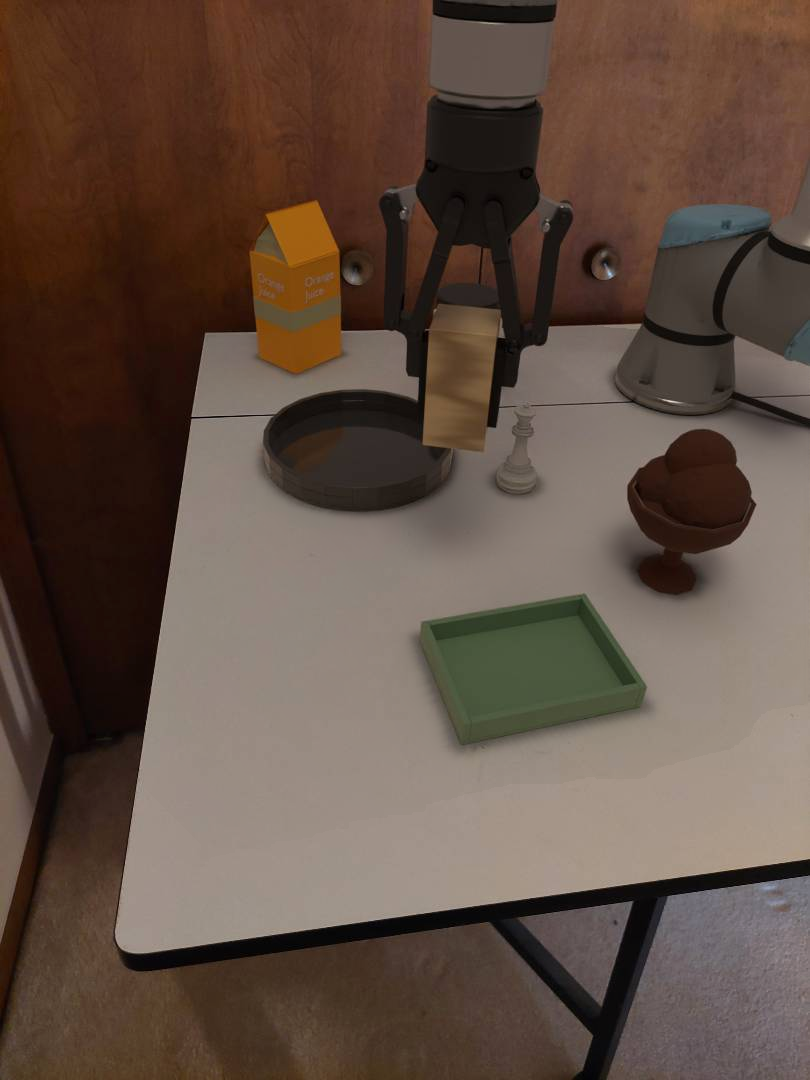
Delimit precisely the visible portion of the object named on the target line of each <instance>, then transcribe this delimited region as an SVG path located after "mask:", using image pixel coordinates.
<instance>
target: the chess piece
mask: <svg viewBox="0 0 810 1080" xmlns="http://www.w3.org/2000/svg"><path fill="white" fill-rule="evenodd" d="M513 412H514V414H515V416H516V417H517V421H516V423H515V424H513V425H512V427H511V434H512V435H513V436H514V437H515V439H514V445H513V447H512V451H511V453H510V455H508V456H506V458H505V461H503V462H502V463H500V465H498V467H497V471H496V475H495V483H496V485H497V487H498V488H500V489H501V490H502V491H504V492H506V493H510V494H515V495H520V494H521V495H522V494H527V493H529V492H532V491H533V490H534V489H535V487H536V483H537V473H538V472H537V470H536V468H535V467H534V466H533V465H532V459H531V458H530V457H529V454H528V439H530V438H531V437H533V436H534V434H535V428H534V427H533V426H532V423H531V421H532V420H533V419H534V418H535V417H536V416H537V414H538V410H537V408H535V407H534V406H531V405H530V403H529V402H528V401H525V402H524V403H522V404H520V405H517V406H515V407H514V410H513Z"/></svg>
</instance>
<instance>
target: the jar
mask: <svg viewBox="0 0 810 1080" xmlns="http://www.w3.org/2000/svg"><path fill="white" fill-rule="evenodd" d="M438 304H447V305H457V306H467V307H477V308H487V309H497V310H500V303H499V297H498V290H497V288H494V287H491V286H489V285H486V284H482V283H476V282H454V283H449V284H447V285H443V286H442V287H440V288H438V291H437V294H436V308H434V309H433V313H432V315H433V316H432V318H433V317H434V314H435V311H436V309H437V306H438ZM502 329H503V323H502V317H501V320H500V329H499V337H500V338H502V331H503V330H502Z"/></svg>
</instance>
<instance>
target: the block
mask: <svg viewBox="0 0 810 1080" xmlns="http://www.w3.org/2000/svg"><path fill="white" fill-rule="evenodd" d="M436 306H437V305H436ZM435 309H436V308H435ZM501 318H502V317H501V310H497V309H487V308H477V307H467V306H457V305H447V304H438V306H437V309H436V311H435V314H434V317H433V316H432V320H431V322H430V325H429V328H428V330H429V340H428V358H427V375H426V393H425V410H424V428H423V445H428V446H436V447H444V448H453V450H462V451H470V452H471V451H472V452H478V453H484V452H485V447H486V440H487V435H488V429H489V427H487V422H488V413H489V404H490V395H491V386H492V378H493V369H494V360H495V351H496V346H497V341H498V337H499V329H500V320H501Z"/></svg>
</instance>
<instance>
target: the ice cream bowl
mask: <svg viewBox="0 0 810 1080" xmlns="http://www.w3.org/2000/svg"><path fill="white" fill-rule="evenodd" d="M737 463H738V457H737V451H736V449H735V447H734V445H733V443H732V441H731V440H729V439H728V438H727V437H726V436H725V435H723V434H722V433H719V432H718V431H715V430H713V429H710V428H695V429H691V430H688V431H685V432H684V433H681V434H680V435H679V436H678V437H677V438H676V439H675V440H674V441H673V442H671V443H670V444H669V446H668V447H667V449H666V451H665V453H664V454H663V455H659V456H656V457H654V458H651V459H650V460H649V461H648V462H647V463H646V464H645V465H644V466H642V467H639V468H637V470H636V472H635V473H634V475H633V476H632V477H631V479H630V481H629V482H628V484H627V486H626V499H627V503H628V506H629V510H630V512H631V514H632V517H633V518H634V520H635V522H636V523H637V526H638V528H639V530H640V531H641V532H642V534H644V536H646V538H647V539H649V540H651V541H652V542H654V543H656V544H658V545H659V546H661V547H663V548H664V550H663V553H656V554H651V555H648V556H645V557H644V558H643V559H642V561H641V563H639V566H638V567H637V569H636V572H637V574H638V576H639V577H640V580H641V582H642V583H643V584H645V585H646V586H648V587H649V588H651V589H653V590H654V591H656V592H657V593H665V594H670V595H676V596H677V595H681V594H684V593H687V592H690V591H692V590H693V588H694V586H695V584H696V582H697V575H696V573H695V571H694V569H693V567H692V566H691V564H690V563H688V562H686V561H684V560H683V556H684V555H683V554H688V555H699V554H702V553H705V552H708V551H712V550H715V549H719V548H723V547H725V546H729V545H732V544H733V543H734V542H735V541H737V539H739V538H740V537H741V536H742V534H743V533H744V531H745V530H746V529H747V527H748V526H749V523H750V521H751V520H752V516H753V514H754V512H755V510H756V507H757V505H758V504H757V503H756V502H755V500H754V499H753V497H752V494H753V492H752V487H751V484H750V481H749V480H748V478H747V477H746V476H745V474H744V472H743V471H742V470H741V468H739V466H737Z"/></svg>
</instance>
